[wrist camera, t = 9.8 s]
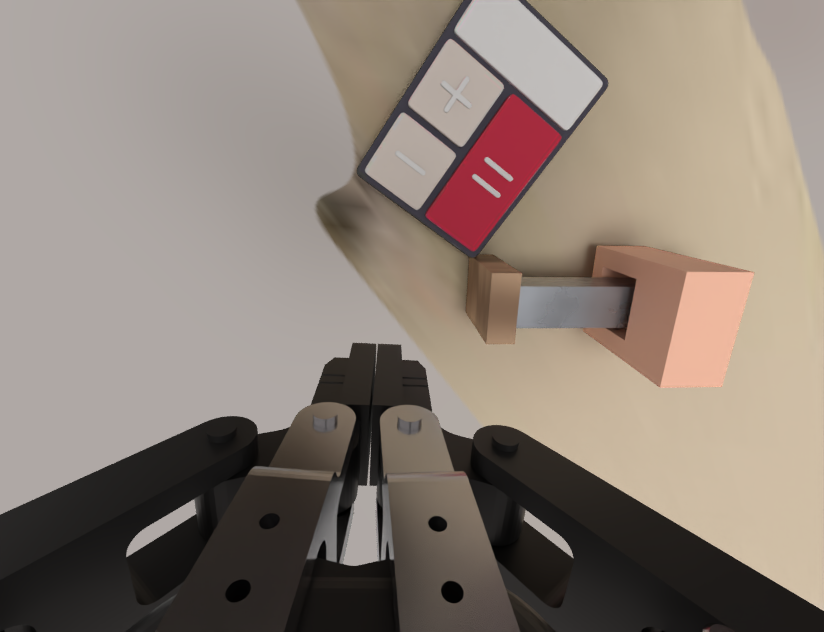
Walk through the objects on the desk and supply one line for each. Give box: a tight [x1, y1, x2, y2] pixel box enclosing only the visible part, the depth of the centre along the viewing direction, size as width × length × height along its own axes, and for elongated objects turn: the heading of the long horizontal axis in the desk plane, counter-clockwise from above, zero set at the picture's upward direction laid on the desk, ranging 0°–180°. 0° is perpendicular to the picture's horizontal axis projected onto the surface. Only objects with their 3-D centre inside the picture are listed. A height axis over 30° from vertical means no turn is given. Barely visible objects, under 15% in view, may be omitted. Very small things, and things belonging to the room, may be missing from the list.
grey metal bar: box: [516, 277, 637, 328], centre depth 30 cm, size 3×16×3 cm, turn 89°
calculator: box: [357, 0, 608, 258], centre depth 29 cm, size 11×4×15 cm
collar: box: [583, 246, 755, 388], centre depth 29 cm, size 7×4×10 cm, turn 179°
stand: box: [466, 255, 522, 344], centre depth 31 cm, size 5×18×8 cm, turn 89°
